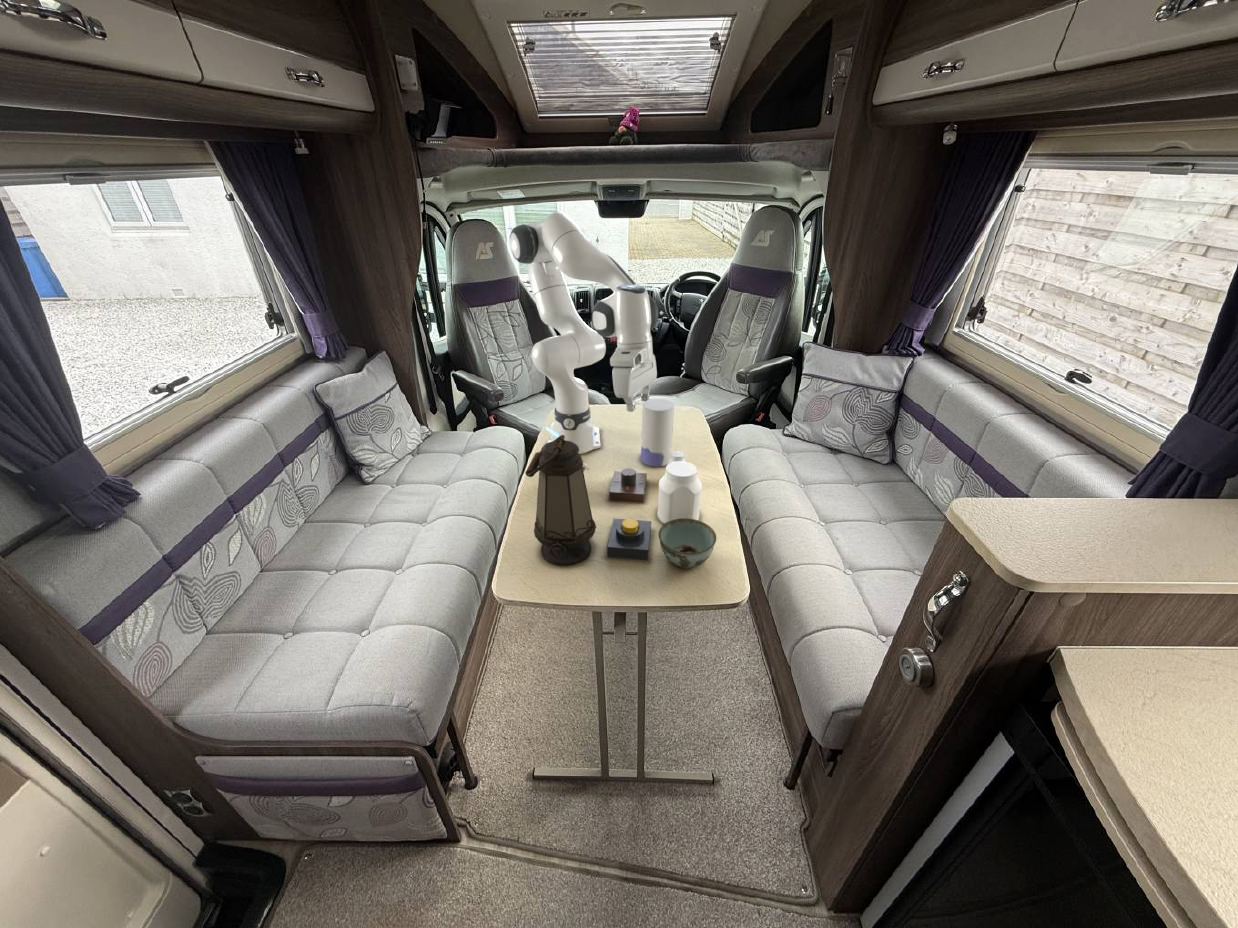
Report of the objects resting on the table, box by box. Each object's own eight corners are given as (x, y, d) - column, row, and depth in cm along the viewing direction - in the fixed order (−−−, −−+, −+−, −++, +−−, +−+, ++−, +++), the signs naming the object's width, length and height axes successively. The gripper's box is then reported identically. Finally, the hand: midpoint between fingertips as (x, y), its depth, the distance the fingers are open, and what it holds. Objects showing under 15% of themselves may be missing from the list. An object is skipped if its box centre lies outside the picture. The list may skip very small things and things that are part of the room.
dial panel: (614, 479, 155) (614, 470, 153) (646, 481, 154) (646, 472, 152) (609, 500, 144) (609, 491, 143) (643, 503, 143) (643, 493, 142)
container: (676, 459, 166) (680, 403, 157) (659, 470, 160) (662, 412, 150) (652, 450, 172) (655, 395, 162) (634, 460, 165) (636, 404, 156)
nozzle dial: (621, 477, 150) (622, 466, 148) (636, 478, 149) (636, 467, 147) (620, 485, 146) (620, 474, 144) (635, 486, 145) (635, 475, 144)
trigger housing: (613, 528, 133) (613, 512, 130) (651, 530, 132) (651, 515, 129) (607, 557, 122) (607, 540, 120) (647, 560, 121) (648, 544, 119)
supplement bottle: (683, 487, 151) (686, 458, 146) (666, 485, 152) (667, 457, 147) (685, 478, 155) (687, 450, 151) (668, 476, 156) (669, 448, 152)
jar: (658, 525, 134) (661, 477, 126) (656, 505, 142) (658, 459, 135) (701, 525, 134) (706, 477, 126) (696, 505, 142) (700, 459, 135)
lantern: (591, 576, 116) (587, 464, 102) (527, 571, 118) (514, 460, 103) (601, 529, 132) (599, 426, 118) (545, 525, 134) (536, 423, 119)
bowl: (689, 537, 129) (691, 511, 126) (725, 566, 120) (728, 539, 116) (646, 555, 123) (647, 529, 119) (680, 587, 113) (682, 560, 109)
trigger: (623, 523, 127) (623, 518, 126) (638, 524, 126) (638, 519, 125) (621, 533, 123) (621, 527, 122) (637, 534, 123) (637, 528, 122)
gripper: (639, 345, 135) (642, 394, 141) (606, 361, 119) (611, 416, 124) (661, 345, 133) (663, 395, 138) (630, 361, 116) (634, 418, 121)
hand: (638, 405), depth 131 cm, fingers open, 8 cm apart
